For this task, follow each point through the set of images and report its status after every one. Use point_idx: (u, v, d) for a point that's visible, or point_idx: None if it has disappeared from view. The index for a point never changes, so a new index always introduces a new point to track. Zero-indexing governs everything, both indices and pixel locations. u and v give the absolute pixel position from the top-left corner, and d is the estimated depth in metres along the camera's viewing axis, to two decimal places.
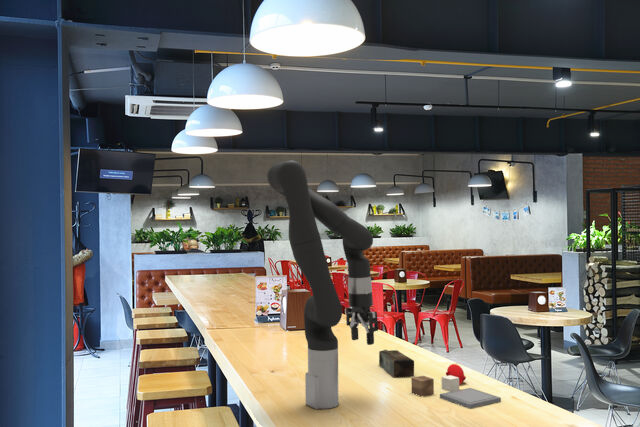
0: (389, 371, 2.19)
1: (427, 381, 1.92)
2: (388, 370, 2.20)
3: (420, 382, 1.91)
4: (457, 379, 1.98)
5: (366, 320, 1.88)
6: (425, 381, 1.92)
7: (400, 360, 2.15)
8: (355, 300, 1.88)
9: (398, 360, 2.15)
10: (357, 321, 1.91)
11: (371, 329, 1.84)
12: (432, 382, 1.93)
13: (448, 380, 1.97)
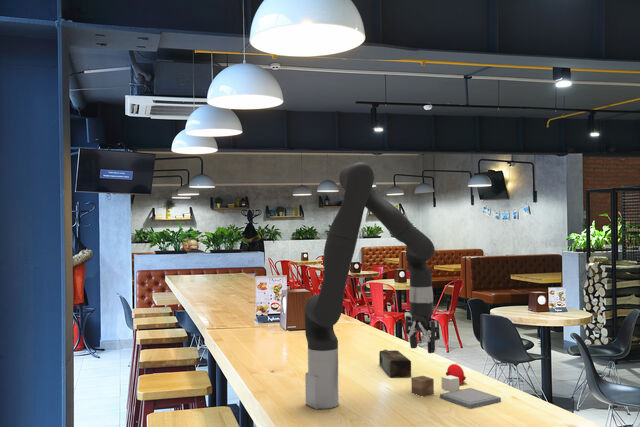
0: (386, 371, 2.19)
1: (427, 381, 1.92)
2: (386, 370, 2.20)
3: (420, 382, 1.91)
4: (457, 379, 1.98)
5: (427, 329, 1.92)
6: (425, 381, 1.92)
7: (397, 360, 2.15)
8: (417, 308, 1.91)
9: (395, 360, 2.15)
10: (417, 330, 1.95)
11: (433, 338, 1.88)
12: (432, 382, 1.93)
13: (448, 380, 1.97)
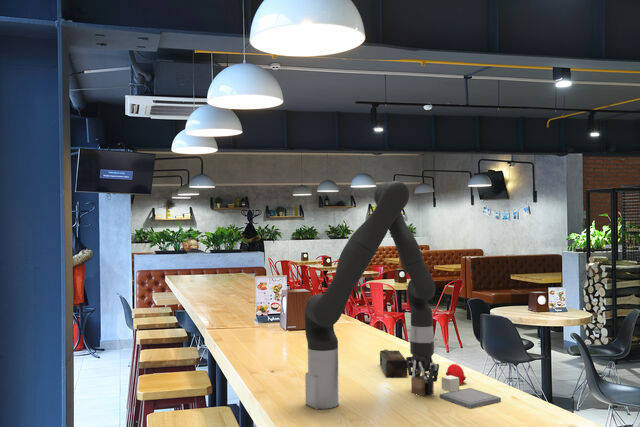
0: (384, 371, 2.19)
1: None
2: (383, 370, 2.21)
3: (420, 382, 1.91)
4: (457, 379, 1.98)
5: None
6: None
7: (393, 360, 2.15)
8: (418, 348, 1.91)
9: (391, 360, 2.15)
10: (419, 368, 1.94)
11: (430, 380, 1.89)
12: (432, 382, 1.93)
13: (448, 380, 1.97)
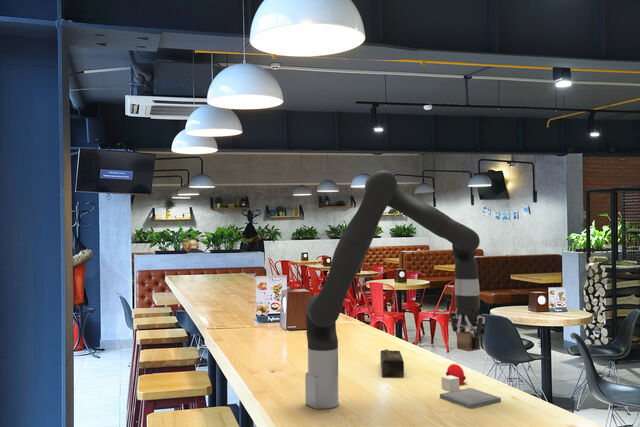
0: (381, 371, 2.20)
1: None
2: (381, 369, 2.21)
3: (467, 336, 1.85)
4: (457, 379, 1.98)
5: None
6: None
7: (389, 360, 2.15)
8: (464, 302, 1.85)
9: (387, 360, 2.15)
10: (465, 323, 1.88)
11: (478, 333, 1.83)
12: None
13: (448, 380, 1.97)
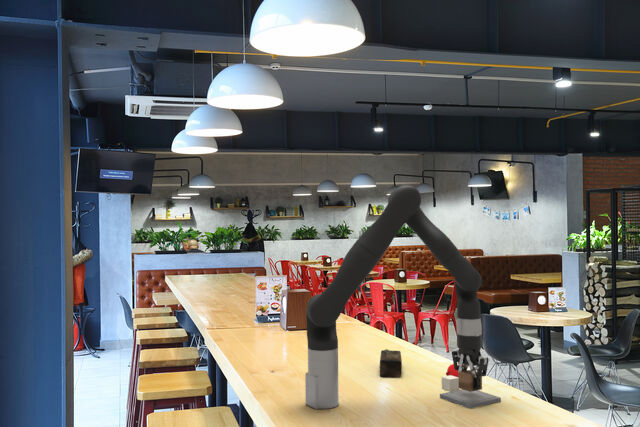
0: None
1: None
2: None
3: (469, 377, 1.84)
4: (457, 379, 1.98)
5: None
6: None
7: (387, 360, 2.15)
8: (466, 342, 1.84)
9: (385, 360, 2.16)
10: (466, 363, 1.87)
11: (479, 374, 1.82)
12: None
13: (448, 380, 1.97)
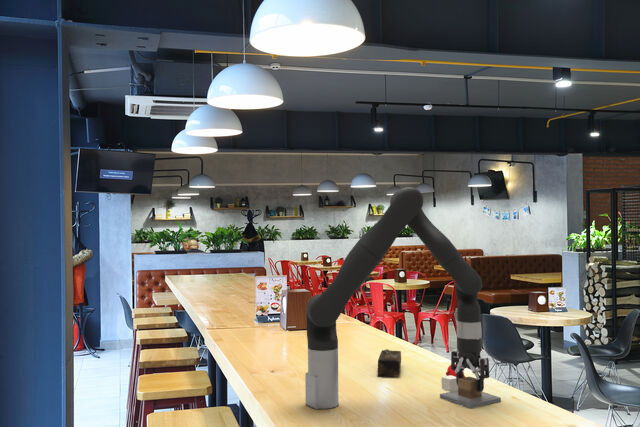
0: None
1: (475, 382, 1.85)
2: None
3: (468, 383, 1.84)
4: None
5: (475, 366, 1.85)
6: (473, 382, 1.85)
7: (385, 360, 2.16)
8: (465, 345, 1.84)
9: (383, 360, 2.16)
10: (465, 366, 1.87)
11: (483, 376, 1.81)
12: None
13: (448, 380, 1.97)
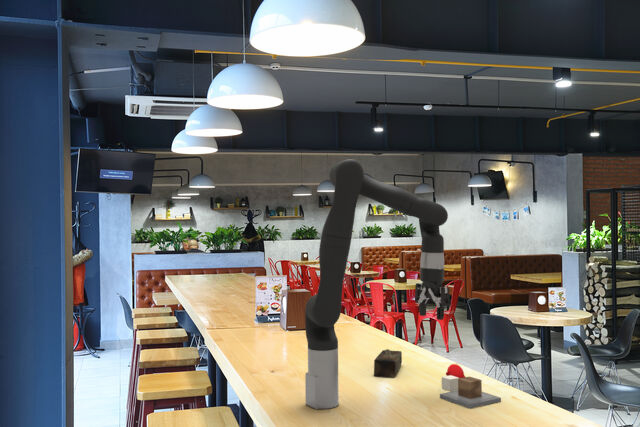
0: None
1: (475, 382, 1.85)
2: None
3: (468, 383, 1.84)
4: (457, 379, 1.98)
5: (437, 295, 1.90)
6: (473, 382, 1.85)
7: (381, 360, 2.16)
8: (427, 274, 1.90)
9: (379, 359, 2.16)
10: (427, 296, 1.93)
11: (443, 304, 1.86)
12: (480, 383, 1.86)
13: (448, 380, 1.97)
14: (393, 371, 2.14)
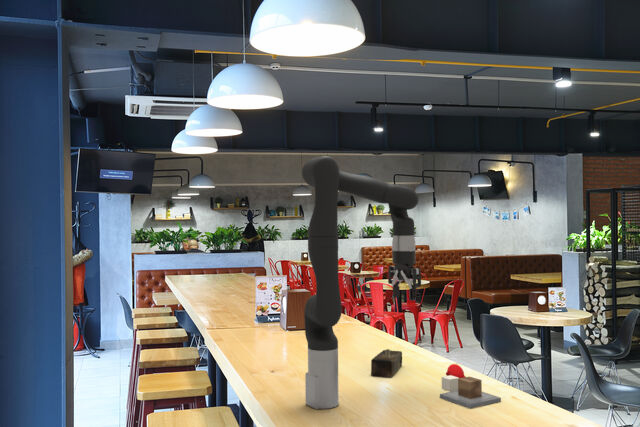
0: None
1: (475, 382, 1.85)
2: None
3: (468, 383, 1.84)
4: (457, 379, 1.98)
5: (409, 277, 1.95)
6: (473, 382, 1.85)
7: (378, 359, 2.16)
8: (399, 257, 1.94)
9: (376, 359, 2.17)
10: (400, 278, 1.98)
11: (414, 284, 1.91)
12: (480, 383, 1.86)
13: (448, 380, 1.97)
14: (390, 371, 2.14)
